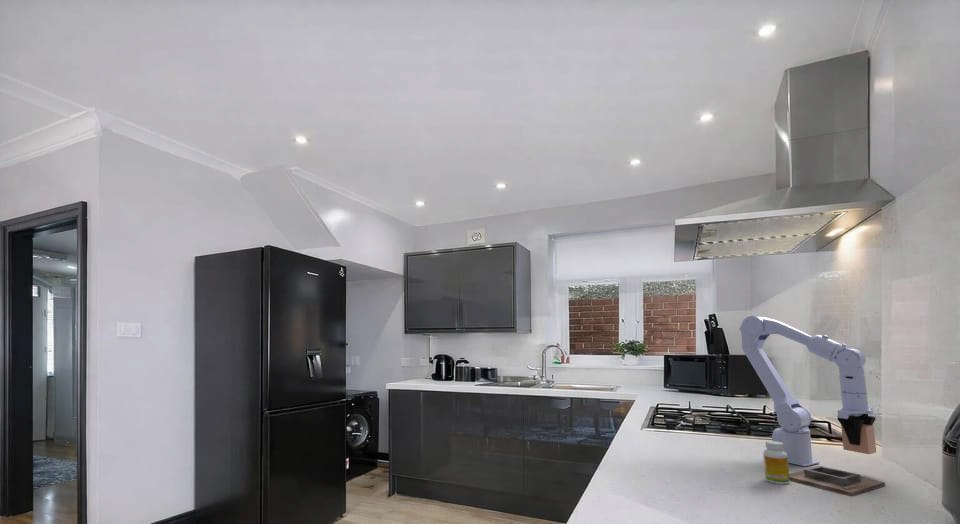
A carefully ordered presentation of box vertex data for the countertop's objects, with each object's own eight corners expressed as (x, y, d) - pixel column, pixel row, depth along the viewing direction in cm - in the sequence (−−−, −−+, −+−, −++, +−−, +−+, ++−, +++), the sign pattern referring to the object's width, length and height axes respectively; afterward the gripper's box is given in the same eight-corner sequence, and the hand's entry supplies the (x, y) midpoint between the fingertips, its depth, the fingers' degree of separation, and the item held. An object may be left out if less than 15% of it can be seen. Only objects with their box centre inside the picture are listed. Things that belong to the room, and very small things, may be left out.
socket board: (782, 478, 129) (781, 468, 129) (816, 469, 136) (815, 460, 137) (852, 496, 115) (850, 485, 115) (885, 485, 122) (884, 475, 123)
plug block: (843, 449, 135) (840, 423, 136) (851, 447, 137) (848, 422, 138) (869, 454, 130) (866, 427, 131) (876, 452, 132) (873, 425, 133)
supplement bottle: (793, 485, 123) (790, 445, 124) (769, 484, 124) (766, 444, 125) (784, 479, 128) (781, 440, 129) (762, 478, 129) (759, 439, 130)
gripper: (856, 395, 129) (862, 449, 127) (883, 392, 136) (889, 443, 134) (827, 392, 135) (832, 444, 133) (854, 389, 142) (859, 438, 140)
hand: (858, 443), depth 134 cm, fingers closed on plug block, 4 cm apart
